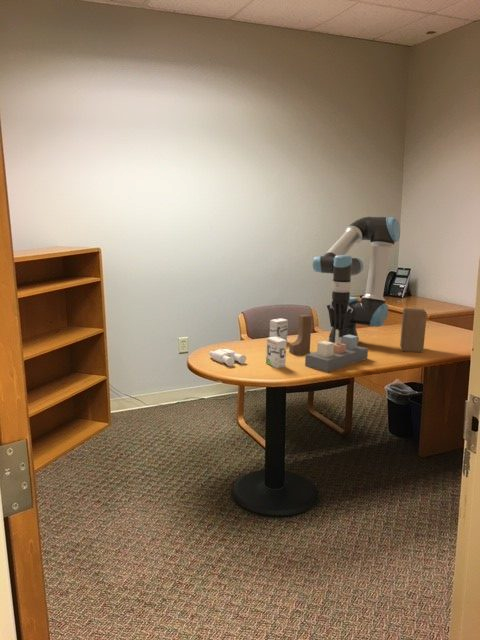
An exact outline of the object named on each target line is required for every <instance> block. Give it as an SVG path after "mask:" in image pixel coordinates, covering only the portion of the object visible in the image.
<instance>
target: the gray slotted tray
mask: <svg viewBox="0 0 480 640" xmlns="http://www.w3.org/2000/svg"><path fill="white" fill-rule="evenodd" d="M368 352H369V348H368V347H363V346H360V345H357V349H354V350H347V349H346V352H344V353H340V354H337V353H333V356H330V357H327V358H326V357H322V356H318V355H317V350H316V351H313V352H310V353H305V358H304V359H305V360H304V361H305V362H304V367H309V368H312V369H314V370H315V369H316V370H318V369H319V371H321V372H325V371H326V373H328V372H332V371H335V370H337V369H341V368H344V367H348V366H349V365H353V364H356V363H360V362H362V361H366V360H368V356H369V353H368Z"/></svg>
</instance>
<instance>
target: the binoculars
mask: <svg viewBox="0 0 480 640" xmlns="http://www.w3.org/2000/svg"><path fill="white" fill-rule="evenodd" d="M208 354H209V357H212V360H214V361H216V362H219V363H221V364H224V363H225V364H226V365H227V366H228V367H232V366H233V365H234V364H235V362H238V363H239V364H241V365H243V364H245V363H246V360H247V356H246V355H245V354H240V353H238V352H236V351H235V350H231V349H228V348H224V349H223V348H218V349H216V350H215V351H212V350H211V351H209V352H208Z"/></svg>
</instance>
